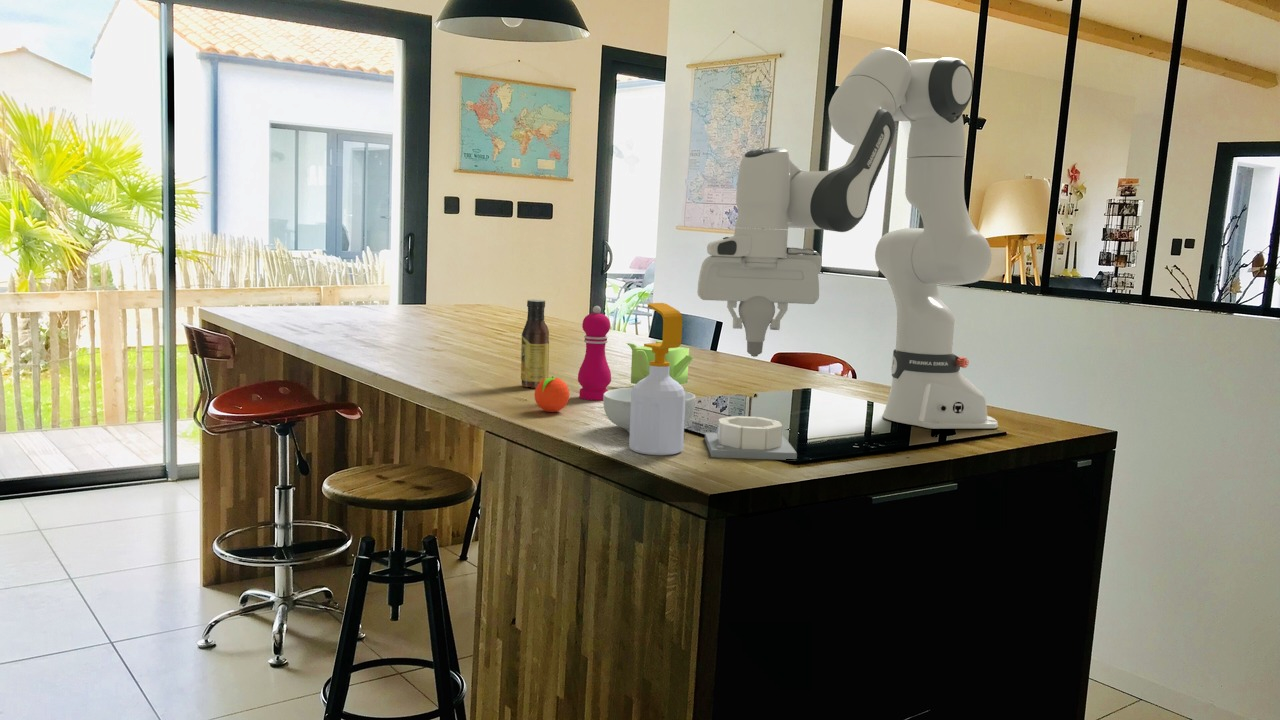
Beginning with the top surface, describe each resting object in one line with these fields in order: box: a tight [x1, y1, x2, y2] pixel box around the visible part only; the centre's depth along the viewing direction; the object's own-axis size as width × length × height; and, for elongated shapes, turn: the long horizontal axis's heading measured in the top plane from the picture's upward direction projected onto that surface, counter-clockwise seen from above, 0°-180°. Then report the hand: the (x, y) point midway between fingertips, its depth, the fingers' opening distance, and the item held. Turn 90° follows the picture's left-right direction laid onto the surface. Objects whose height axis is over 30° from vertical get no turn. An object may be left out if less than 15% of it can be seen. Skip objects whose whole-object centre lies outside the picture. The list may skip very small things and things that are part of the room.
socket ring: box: [717, 415, 784, 450], centre depth 167 cm, size 10×10×4 cm
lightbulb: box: [738, 296, 776, 358], centre depth 164 cm, size 6×6×11 cm
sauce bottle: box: [520, 299, 550, 389], centre depth 222 cm, size 6×6×20 cm
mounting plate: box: [704, 432, 798, 461], centre depth 167 cm, size 14×14×2 cm
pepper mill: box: [577, 305, 612, 402], centre depth 210 cm, size 7×7×20 cm
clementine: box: [534, 375, 570, 413], centre depth 193 cm, size 8×7×7 cm
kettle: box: [625, 340, 694, 385], centre depth 227 cm, size 15×14×11 cm
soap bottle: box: [628, 302, 686, 456], centre depth 162 cm, size 9×9×25 cm
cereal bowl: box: [602, 387, 697, 434], centre depth 178 cm, size 17×17×7 cm
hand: (755, 329), depth 165 cm, fingers closed on lightbulb, 5 cm apart
